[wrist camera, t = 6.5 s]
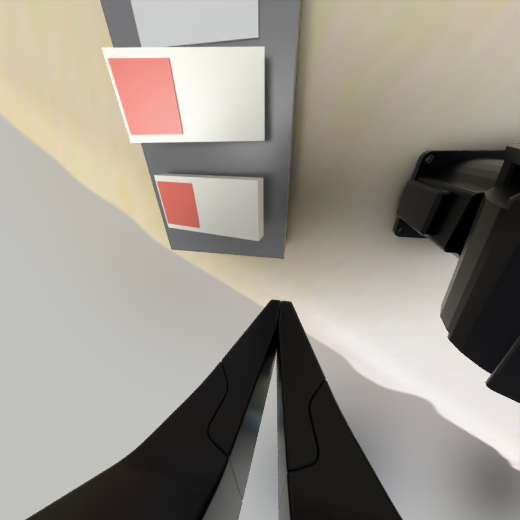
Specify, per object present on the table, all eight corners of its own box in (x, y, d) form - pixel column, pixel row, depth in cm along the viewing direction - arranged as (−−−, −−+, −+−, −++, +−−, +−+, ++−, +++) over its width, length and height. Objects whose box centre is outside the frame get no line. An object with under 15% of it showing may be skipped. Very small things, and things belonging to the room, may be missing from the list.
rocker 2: (263, 177, 12) (257, 180, 11) (263, 235, 14) (258, 241, 14) (164, 173, 15) (152, 175, 14) (176, 223, 17) (167, 227, 16)
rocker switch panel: (309, -128, 9) (313, -264, 6) (285, 243, 20) (282, 263, 17) (113, -82, 11) (37, -170, 8) (186, 236, 22) (166, 253, 18)
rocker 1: (263, 54, 11) (264, 45, 10) (263, 140, 13) (264, 140, 12) (113, 55, 10) (100, 46, 9) (139, 142, 12) (129, 142, 12)
